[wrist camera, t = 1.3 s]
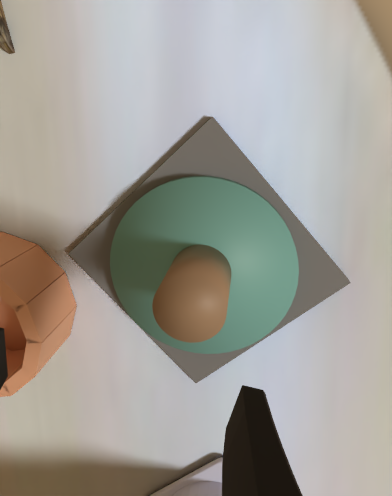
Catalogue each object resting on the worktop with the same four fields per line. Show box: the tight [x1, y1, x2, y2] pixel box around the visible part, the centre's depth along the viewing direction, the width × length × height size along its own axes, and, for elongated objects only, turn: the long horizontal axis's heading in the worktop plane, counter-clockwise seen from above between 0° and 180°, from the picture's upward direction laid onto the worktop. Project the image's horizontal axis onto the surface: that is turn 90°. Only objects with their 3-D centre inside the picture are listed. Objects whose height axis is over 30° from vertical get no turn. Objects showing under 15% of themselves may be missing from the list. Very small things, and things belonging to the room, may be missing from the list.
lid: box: [110, 176, 299, 354], centre depth 18 cm, size 10×10×5 cm
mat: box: [69, 117, 350, 383], centre depth 20 cm, size 11×11×1 cm
